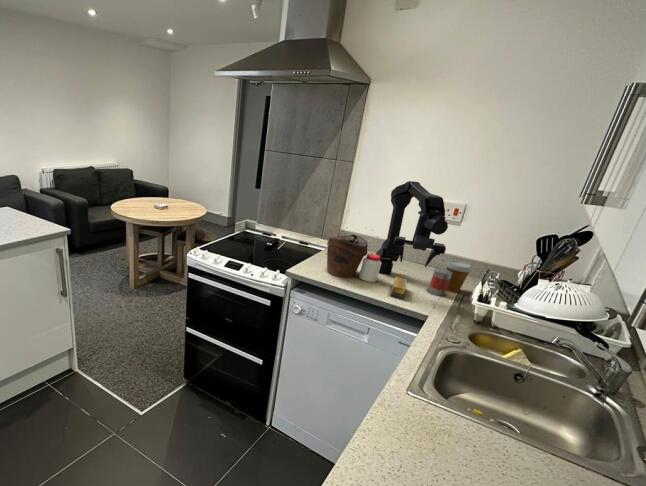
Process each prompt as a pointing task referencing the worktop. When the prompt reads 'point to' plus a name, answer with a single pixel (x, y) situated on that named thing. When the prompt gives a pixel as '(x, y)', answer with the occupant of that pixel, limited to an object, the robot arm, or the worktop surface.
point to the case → (345, 254)
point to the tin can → (439, 281)
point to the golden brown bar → (398, 287)
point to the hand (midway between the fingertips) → (413, 264)
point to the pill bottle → (370, 268)
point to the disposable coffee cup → (457, 274)
